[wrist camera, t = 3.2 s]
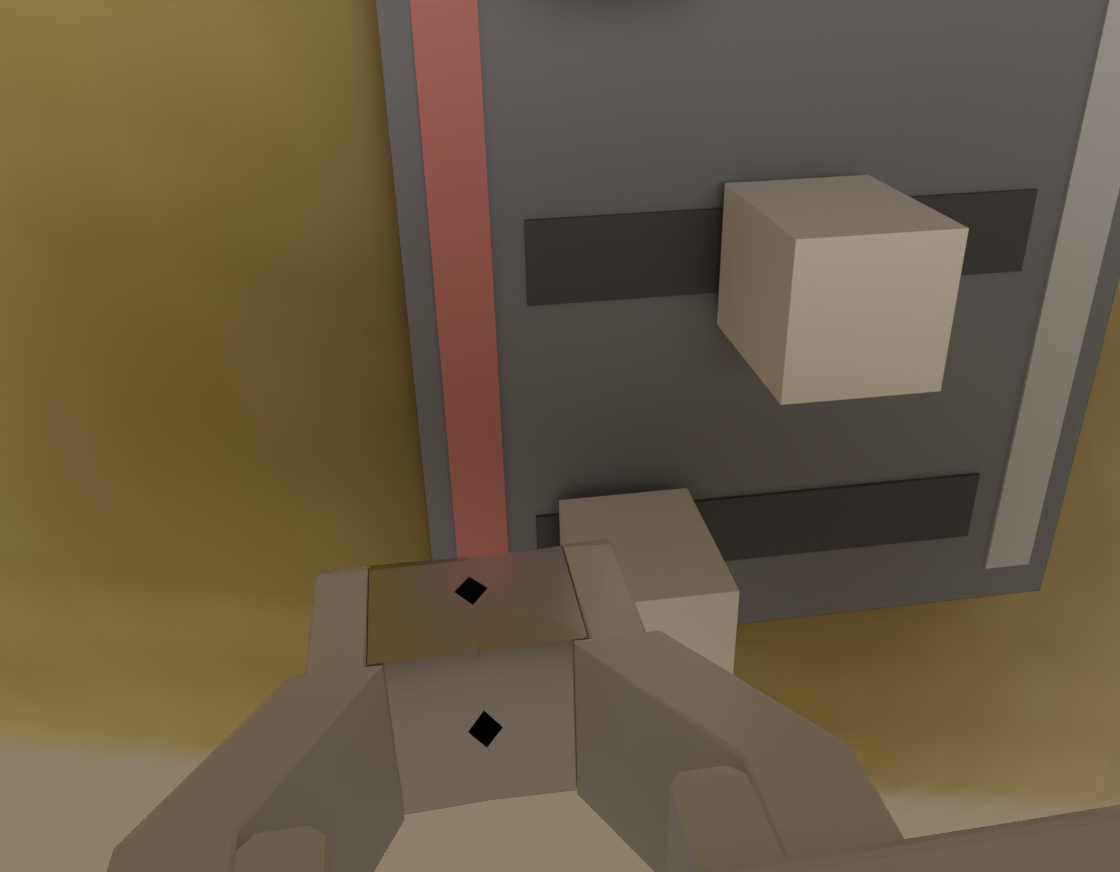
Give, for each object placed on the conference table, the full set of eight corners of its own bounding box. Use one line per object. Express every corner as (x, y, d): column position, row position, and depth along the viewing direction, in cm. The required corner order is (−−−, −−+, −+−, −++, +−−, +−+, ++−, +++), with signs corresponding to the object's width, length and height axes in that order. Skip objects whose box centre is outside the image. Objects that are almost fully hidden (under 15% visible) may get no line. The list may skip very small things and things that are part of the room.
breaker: (686, 488, 23) (739, 591, 19) (682, 592, 24) (730, 707, 21) (559, 500, 22) (588, 607, 19) (561, 606, 24) (589, 724, 20)
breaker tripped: (867, 174, 20) (968, 228, 16) (851, 314, 21) (940, 391, 18) (724, 183, 20) (795, 239, 16) (717, 324, 21) (780, 404, 17)
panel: (1193, -320, 19) (1280, -347, 17) (1000, 548, 28) (1041, 592, 26) (346, -323, 17) (339, -354, 15) (438, 608, 26) (441, 660, 24)
